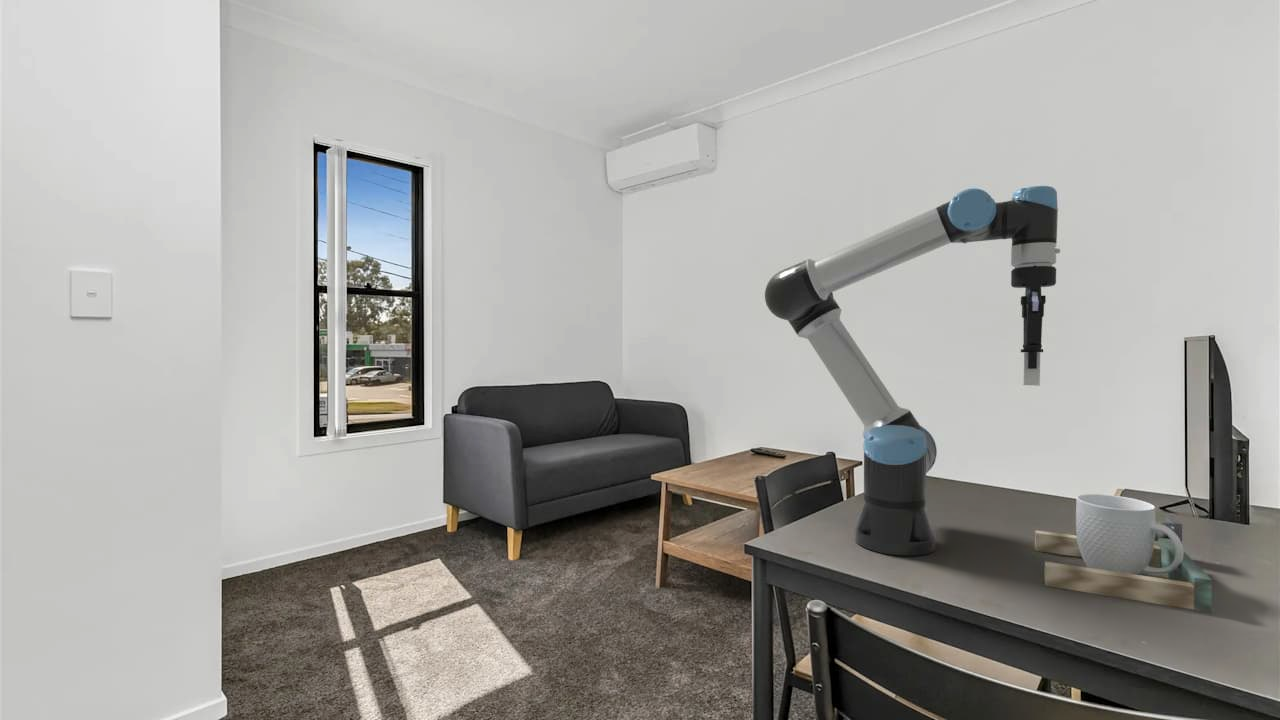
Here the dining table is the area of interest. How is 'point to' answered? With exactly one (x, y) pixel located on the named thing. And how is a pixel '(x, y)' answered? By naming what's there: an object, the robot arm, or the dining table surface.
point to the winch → (1171, 524)
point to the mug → (1120, 534)
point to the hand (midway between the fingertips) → (1031, 384)
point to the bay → (1129, 575)
